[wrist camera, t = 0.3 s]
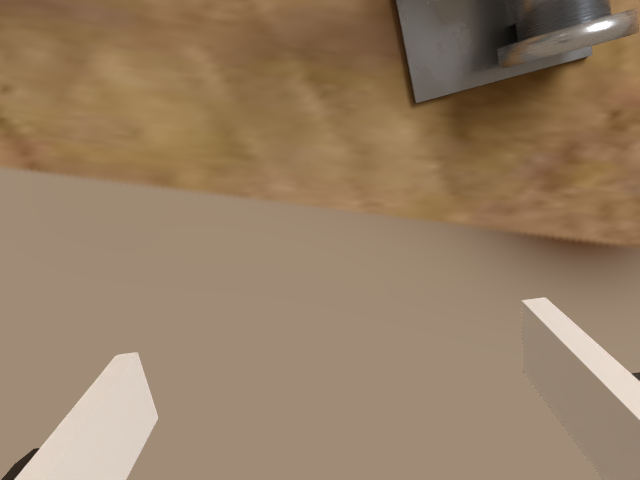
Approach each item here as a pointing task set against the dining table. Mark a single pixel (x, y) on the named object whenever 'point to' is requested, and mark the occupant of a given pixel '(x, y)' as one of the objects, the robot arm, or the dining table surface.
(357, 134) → the dining table surface
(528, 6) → the valve body
